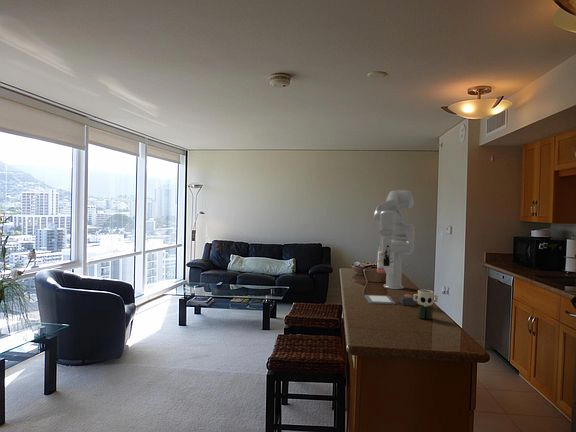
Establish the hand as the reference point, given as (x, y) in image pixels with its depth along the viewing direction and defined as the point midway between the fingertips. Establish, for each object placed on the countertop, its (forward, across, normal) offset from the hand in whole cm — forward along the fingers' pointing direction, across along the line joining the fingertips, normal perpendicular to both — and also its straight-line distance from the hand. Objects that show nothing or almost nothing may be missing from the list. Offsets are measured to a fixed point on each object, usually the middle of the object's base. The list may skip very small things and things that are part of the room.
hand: (385, 264), depth 236 cm
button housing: (+20, +9, +11) cm, 24 cm away
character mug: (+20, +38, +11) cm, 44 cm away
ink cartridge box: (+5, 0, 0) cm, 5 cm away
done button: (+17, +9, +11) cm, 22 cm away
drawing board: (+20, +3, -3) cm, 20 cm away
